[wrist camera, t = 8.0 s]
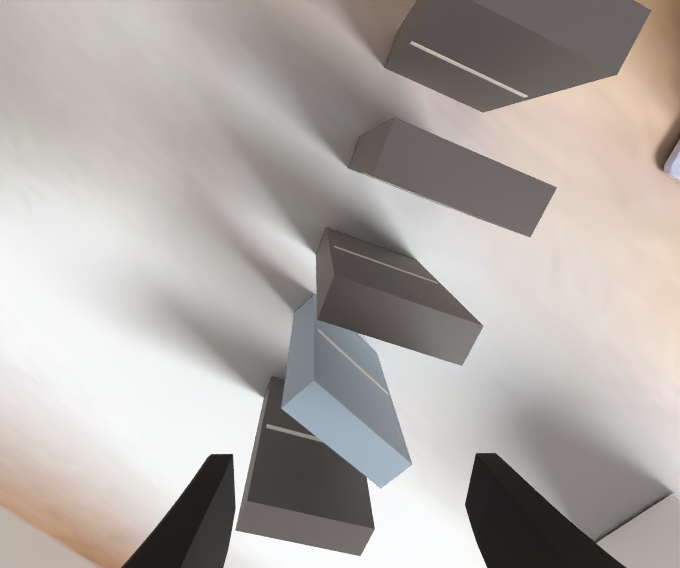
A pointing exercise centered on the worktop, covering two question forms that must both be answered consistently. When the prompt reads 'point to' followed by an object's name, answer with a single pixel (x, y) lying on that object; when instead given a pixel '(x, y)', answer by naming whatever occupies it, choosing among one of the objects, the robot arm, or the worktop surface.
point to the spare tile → (343, 396)
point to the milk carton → (648, 537)
